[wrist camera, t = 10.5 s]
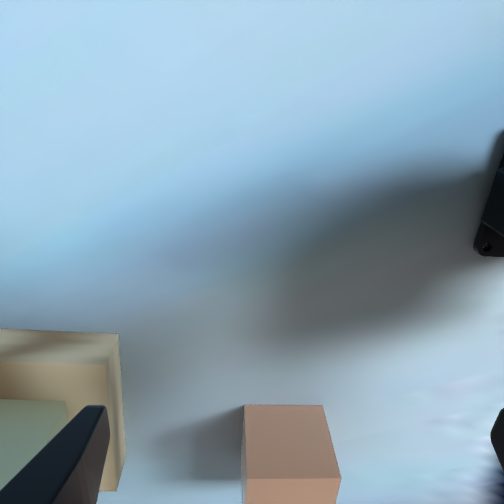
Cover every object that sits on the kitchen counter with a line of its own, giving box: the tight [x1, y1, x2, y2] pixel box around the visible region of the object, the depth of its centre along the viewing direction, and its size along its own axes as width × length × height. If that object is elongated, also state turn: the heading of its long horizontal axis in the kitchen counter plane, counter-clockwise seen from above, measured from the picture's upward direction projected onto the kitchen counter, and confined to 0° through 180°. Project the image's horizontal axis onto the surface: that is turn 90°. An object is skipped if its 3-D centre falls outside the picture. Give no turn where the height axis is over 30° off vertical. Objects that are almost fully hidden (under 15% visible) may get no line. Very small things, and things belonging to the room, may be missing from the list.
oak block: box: [0, 329, 126, 491], centre depth 23 cm, size 10×10×3 cm
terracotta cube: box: [241, 405, 341, 504], centre depth 24 cm, size 5×5×5 cm
